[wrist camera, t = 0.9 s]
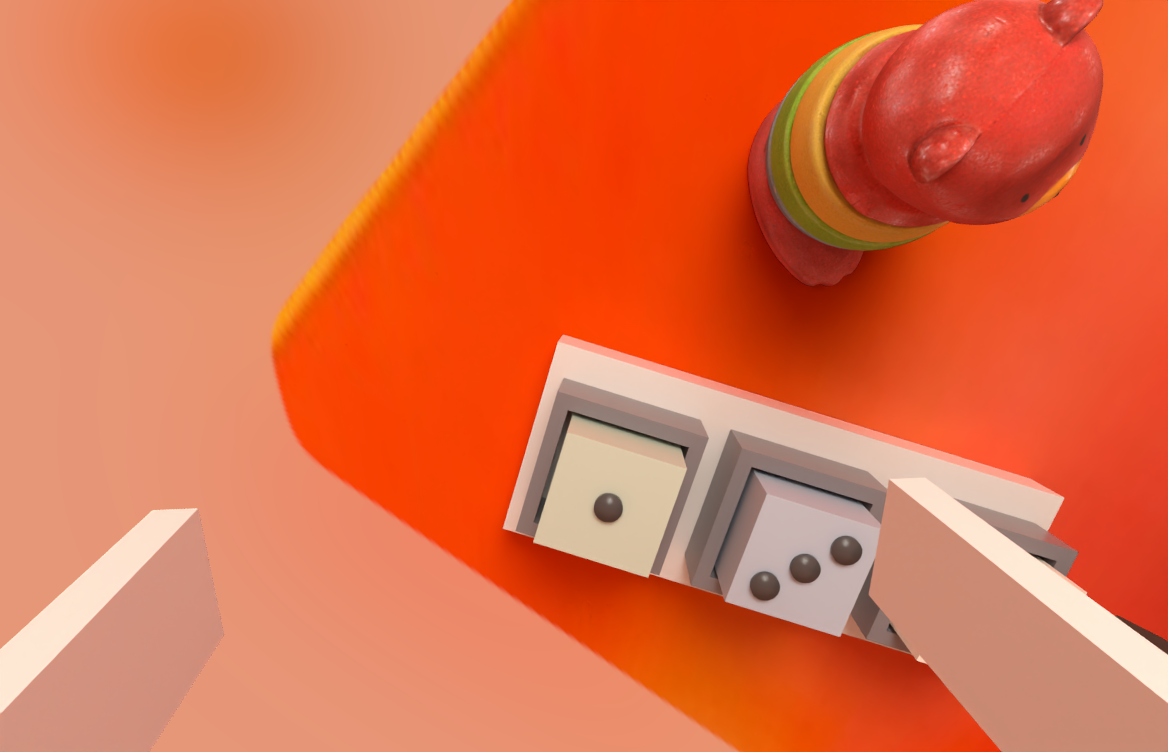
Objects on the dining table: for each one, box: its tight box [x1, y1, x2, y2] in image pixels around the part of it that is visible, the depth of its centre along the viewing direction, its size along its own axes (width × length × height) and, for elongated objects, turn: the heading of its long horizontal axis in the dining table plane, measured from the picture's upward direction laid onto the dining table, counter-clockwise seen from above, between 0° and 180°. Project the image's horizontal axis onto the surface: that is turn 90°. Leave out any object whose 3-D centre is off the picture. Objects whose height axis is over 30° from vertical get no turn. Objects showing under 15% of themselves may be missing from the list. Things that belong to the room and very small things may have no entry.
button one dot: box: [533, 412, 687, 578], centre depth 32 cm, size 6×6×4 cm
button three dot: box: [714, 467, 881, 637], centre depth 32 cm, size 6×6×4 cm
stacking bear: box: [748, 0, 1103, 286], centre depth 26 cm, size 11×10×18 cm
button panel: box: [503, 335, 1079, 655], centre depth 36 cm, size 30×12×6 cm, turn 73°
